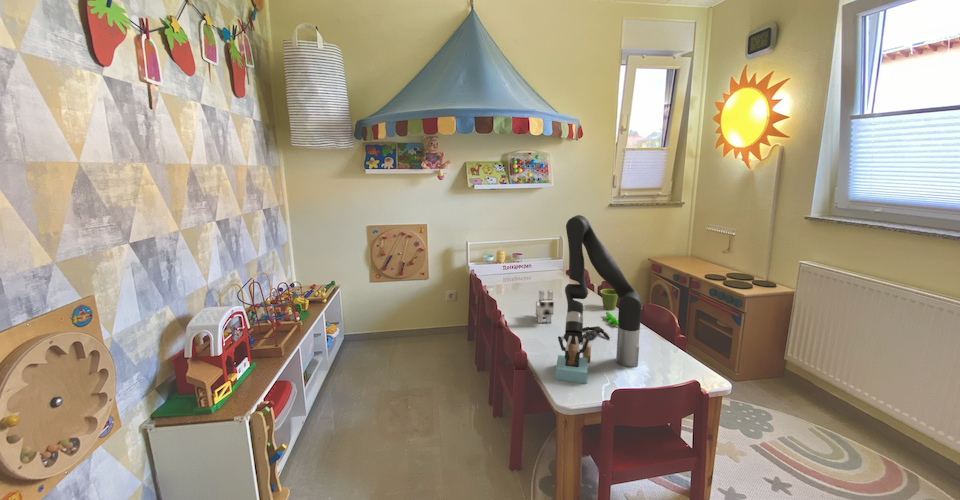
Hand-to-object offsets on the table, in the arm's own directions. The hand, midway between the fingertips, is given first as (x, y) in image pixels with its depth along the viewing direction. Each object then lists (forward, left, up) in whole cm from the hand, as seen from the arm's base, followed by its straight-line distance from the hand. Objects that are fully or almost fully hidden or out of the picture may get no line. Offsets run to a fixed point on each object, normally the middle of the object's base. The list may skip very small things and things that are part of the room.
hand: (572, 360), depth 168 cm
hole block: (0, -2, -7) cm, 8 cm away
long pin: (0, -2, -6) cm, 6 cm away
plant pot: (-19, -90, -7) cm, 92 cm away
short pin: (-6, -15, -7) cm, 18 cm away
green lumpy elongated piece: (-20, -67, -8) cm, 70 cm away
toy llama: (+19, -59, -7) cm, 62 cm away
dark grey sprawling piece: (-9, -44, -8) cm, 45 cm away
